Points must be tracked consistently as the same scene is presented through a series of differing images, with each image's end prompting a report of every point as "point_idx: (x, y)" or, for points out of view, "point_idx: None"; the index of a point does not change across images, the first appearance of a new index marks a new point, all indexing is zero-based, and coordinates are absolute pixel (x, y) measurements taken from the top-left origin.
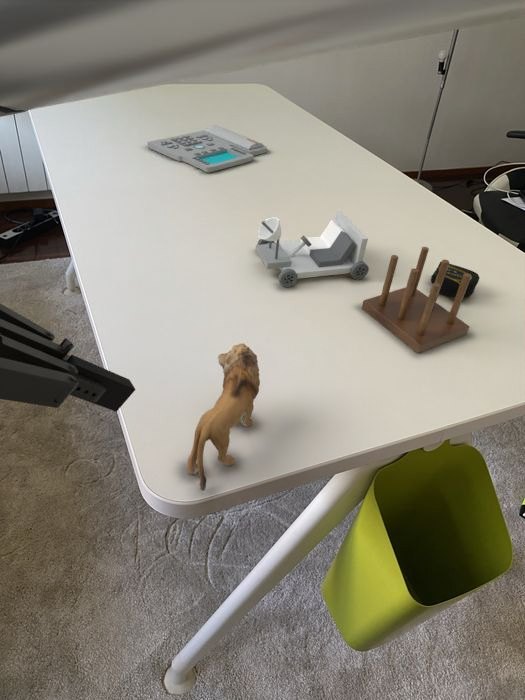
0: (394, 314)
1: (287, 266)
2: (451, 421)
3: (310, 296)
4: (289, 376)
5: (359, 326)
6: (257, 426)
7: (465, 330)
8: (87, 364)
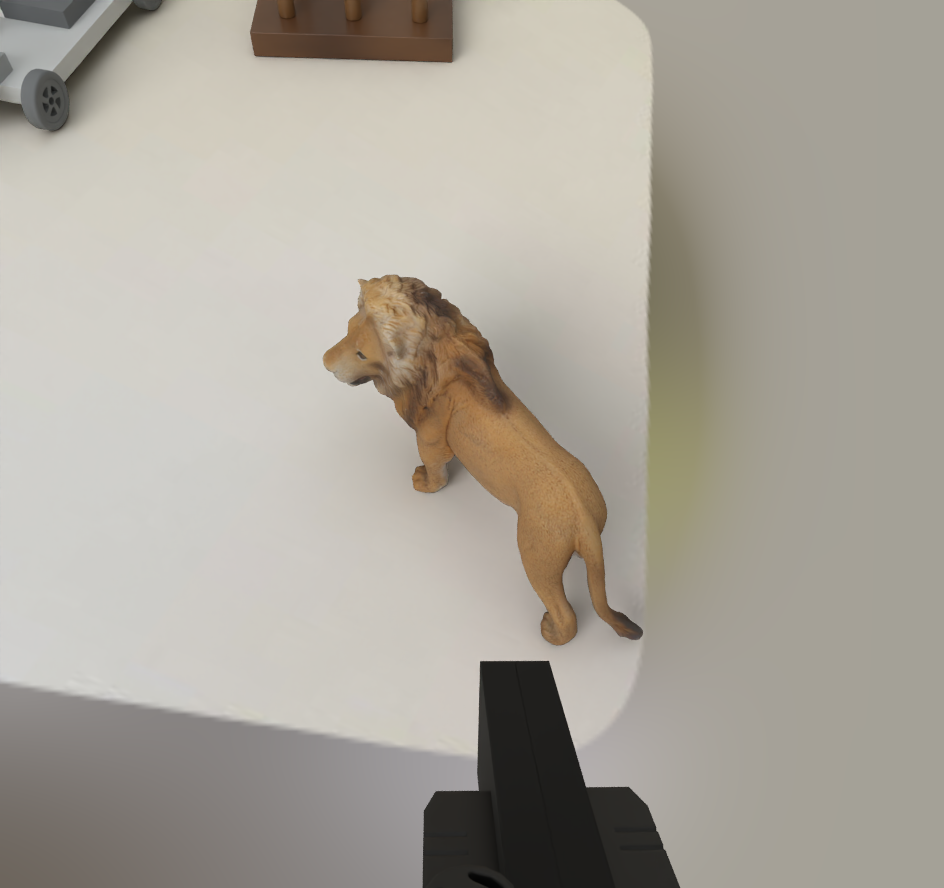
0: (335, 18)
1: (6, 74)
2: (648, 124)
3: (135, 107)
4: None
5: (306, 91)
6: None
7: None
8: (538, 824)
